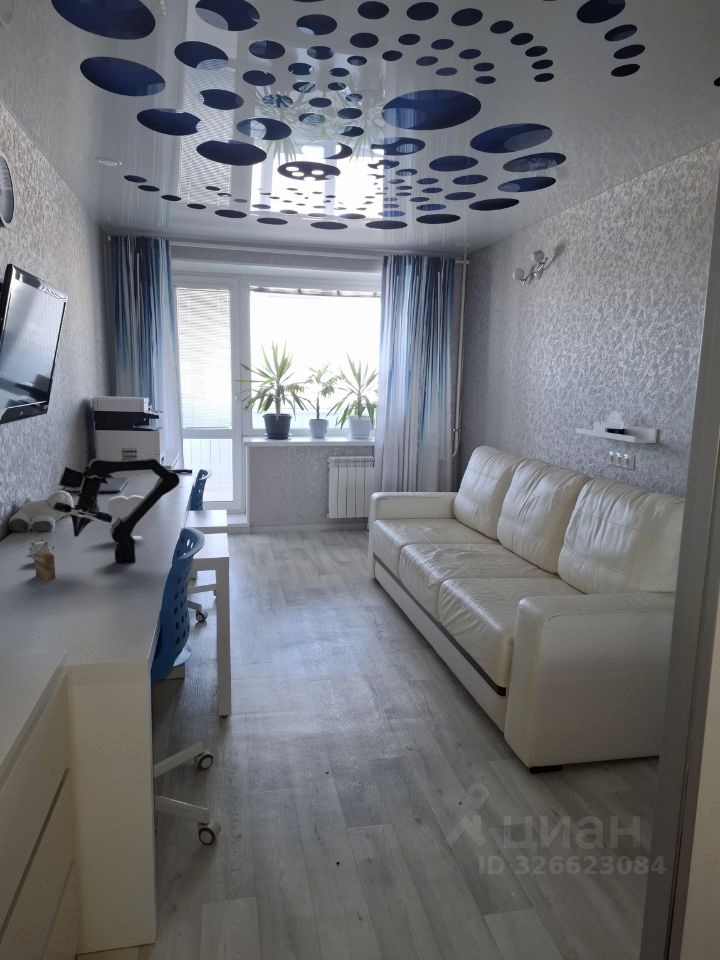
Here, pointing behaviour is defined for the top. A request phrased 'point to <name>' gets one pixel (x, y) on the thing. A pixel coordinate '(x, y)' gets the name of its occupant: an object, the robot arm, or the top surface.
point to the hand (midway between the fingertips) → (75, 536)
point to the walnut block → (44, 565)
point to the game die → (39, 549)
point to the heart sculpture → (123, 507)
